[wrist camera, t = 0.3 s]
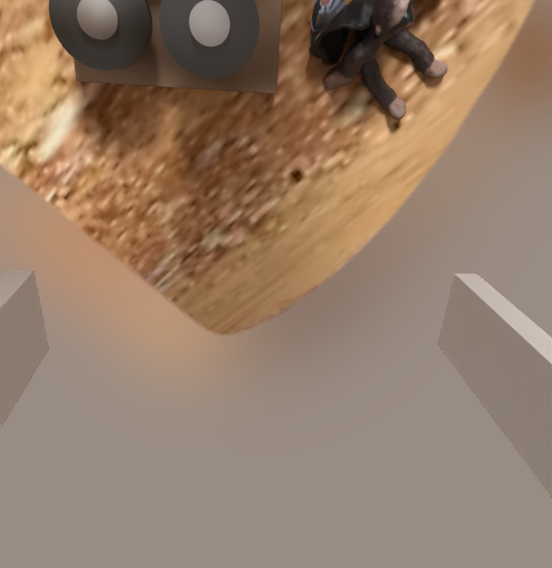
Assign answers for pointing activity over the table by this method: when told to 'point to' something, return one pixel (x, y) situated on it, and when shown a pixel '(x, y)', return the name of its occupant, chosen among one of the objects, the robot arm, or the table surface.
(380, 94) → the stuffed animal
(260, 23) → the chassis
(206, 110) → the table surface
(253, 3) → the wheel
